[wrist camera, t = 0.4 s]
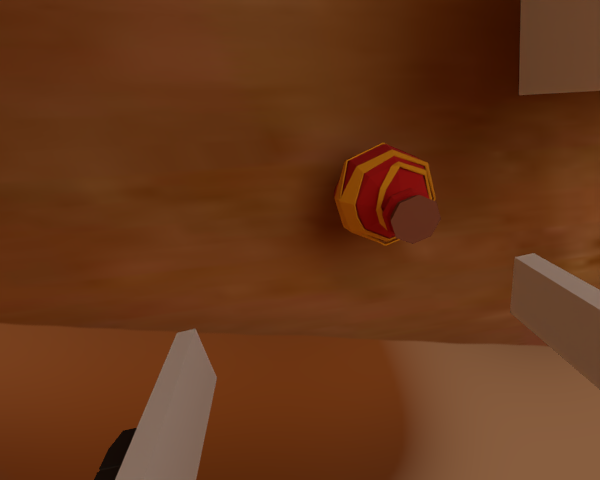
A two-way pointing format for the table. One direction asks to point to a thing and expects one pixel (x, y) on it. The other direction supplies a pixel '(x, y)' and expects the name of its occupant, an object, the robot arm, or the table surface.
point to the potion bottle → (387, 196)
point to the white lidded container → (559, 46)
